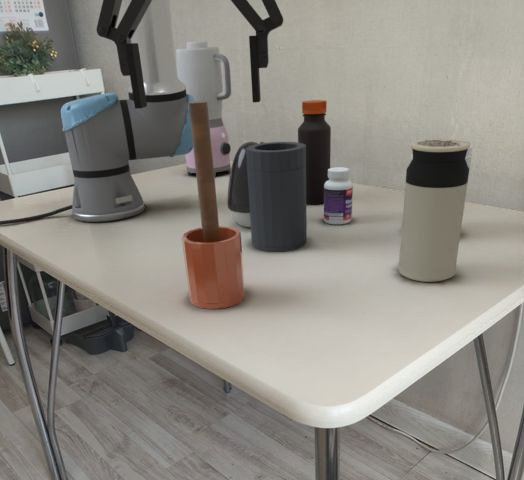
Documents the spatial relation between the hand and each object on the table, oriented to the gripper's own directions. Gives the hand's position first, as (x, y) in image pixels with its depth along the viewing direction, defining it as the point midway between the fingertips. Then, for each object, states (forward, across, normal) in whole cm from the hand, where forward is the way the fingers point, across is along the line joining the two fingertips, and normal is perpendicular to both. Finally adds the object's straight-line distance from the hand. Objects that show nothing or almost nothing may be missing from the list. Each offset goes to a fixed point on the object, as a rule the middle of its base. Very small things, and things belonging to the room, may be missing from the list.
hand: (198, 104), depth 62 cm
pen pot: (+24, 0, 0) cm, 25 cm away
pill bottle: (+25, +19, +35) cm, 47 cm away
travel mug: (+25, +30, +7) cm, 39 cm away
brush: (+24, 0, 0) cm, 24 cm away
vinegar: (+24, +15, +51) cm, 59 cm away
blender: (+24, -12, +85) cm, 89 cm away
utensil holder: (+24, +8, +23) cm, 35 cm away
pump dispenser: (+24, +3, +35) cm, 43 cm away
